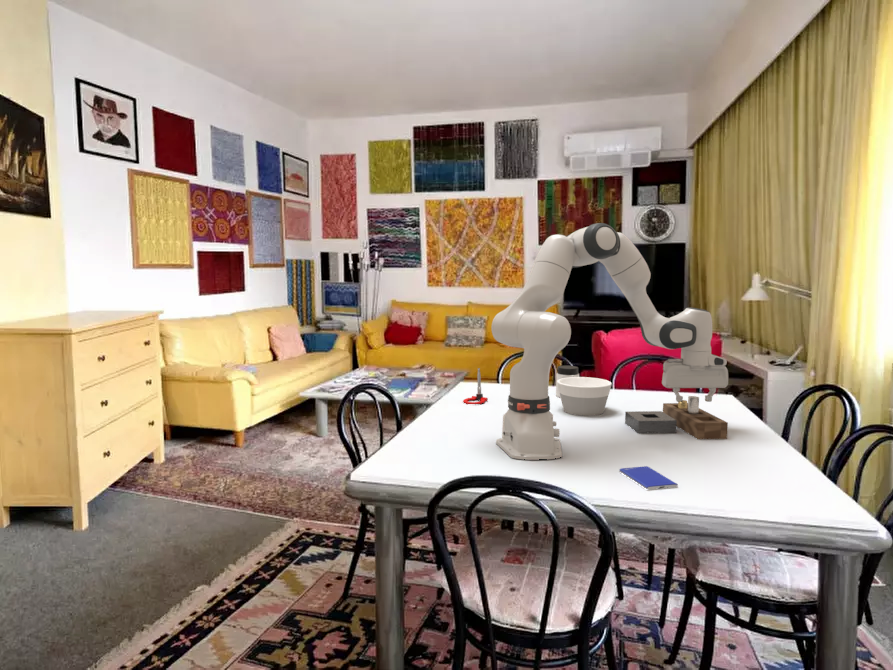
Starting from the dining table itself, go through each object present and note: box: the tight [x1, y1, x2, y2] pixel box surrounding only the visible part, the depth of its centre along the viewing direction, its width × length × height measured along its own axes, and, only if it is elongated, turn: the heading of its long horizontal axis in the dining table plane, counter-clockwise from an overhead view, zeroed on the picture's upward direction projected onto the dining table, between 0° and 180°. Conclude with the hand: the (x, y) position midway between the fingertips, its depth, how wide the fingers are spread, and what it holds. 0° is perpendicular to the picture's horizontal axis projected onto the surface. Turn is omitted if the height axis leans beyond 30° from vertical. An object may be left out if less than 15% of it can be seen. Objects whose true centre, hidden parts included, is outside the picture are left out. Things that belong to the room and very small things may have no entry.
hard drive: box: [618, 465, 679, 490], centre depth 143 cm, size 2×8×12 cm
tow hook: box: [462, 367, 489, 405], centre depth 226 cm, size 8×13×9 cm
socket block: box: [624, 410, 677, 434], centre depth 189 cm, size 12×12×4 cm
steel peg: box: [687, 395, 700, 414], centre depth 189 cm, size 3×3×10 cm
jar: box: [555, 365, 580, 399], centre depth 236 cm, size 9×8×12 cm
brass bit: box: [677, 399, 688, 408], centre depth 197 cm, size 3×3×7 cm
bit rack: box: [662, 402, 729, 440], centre depth 190 cm, size 26×9×5 cm, turn 2°
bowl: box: [557, 376, 613, 417], centre depth 212 cm, size 19×19×11 cm
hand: (693, 401), depth 189 cm, fingers open, 8 cm apart
